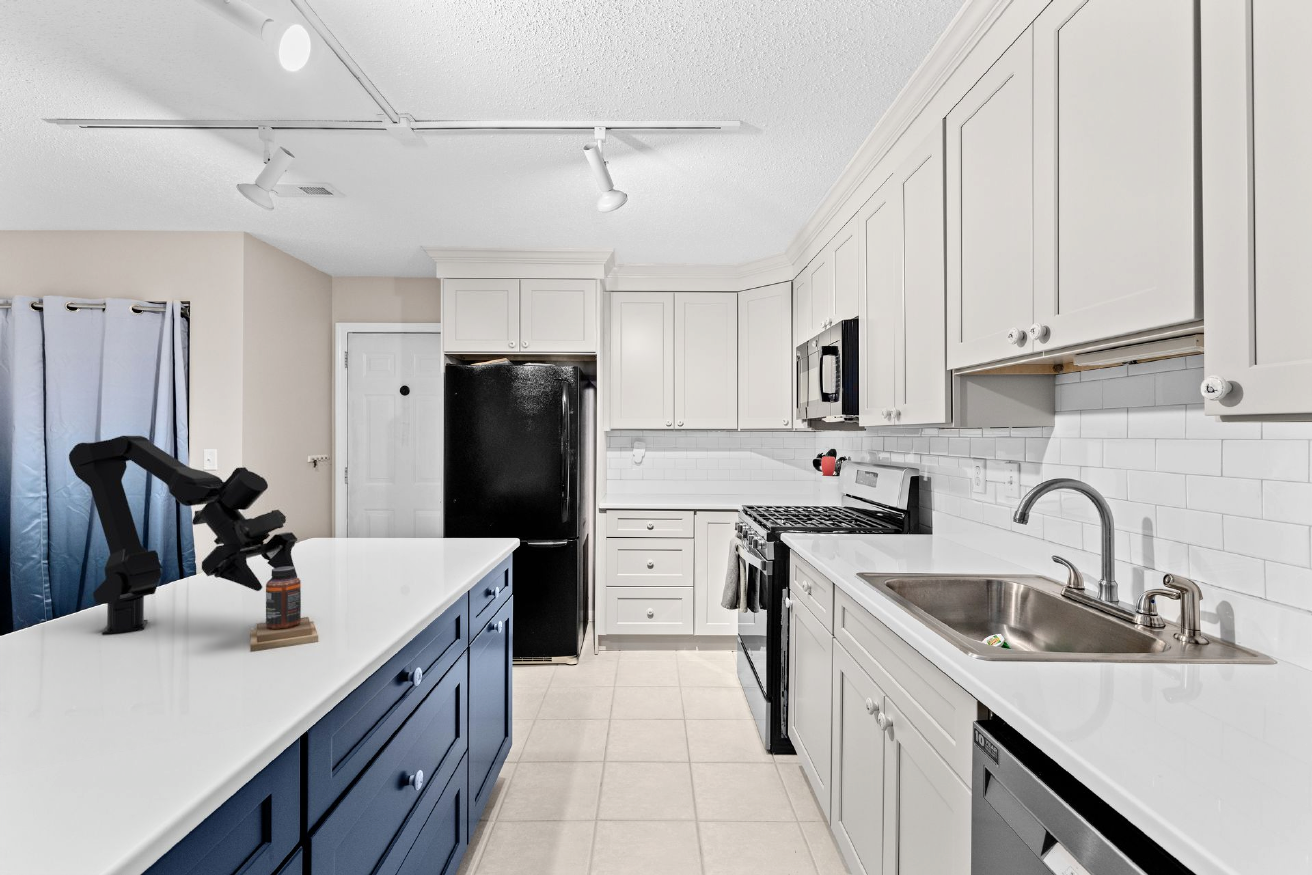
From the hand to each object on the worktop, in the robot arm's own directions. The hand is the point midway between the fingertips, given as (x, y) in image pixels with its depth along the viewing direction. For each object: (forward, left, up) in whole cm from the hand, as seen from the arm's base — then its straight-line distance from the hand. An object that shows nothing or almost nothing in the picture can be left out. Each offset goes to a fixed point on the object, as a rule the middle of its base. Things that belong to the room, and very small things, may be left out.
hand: (278, 583), depth 123 cm
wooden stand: (+1, +1, -11) cm, 11 cm away
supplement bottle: (+1, +1, -8) cm, 9 cm away
